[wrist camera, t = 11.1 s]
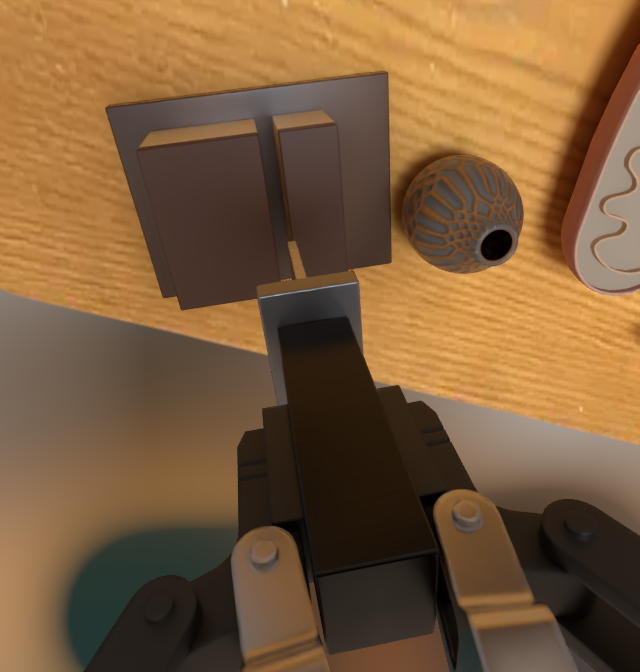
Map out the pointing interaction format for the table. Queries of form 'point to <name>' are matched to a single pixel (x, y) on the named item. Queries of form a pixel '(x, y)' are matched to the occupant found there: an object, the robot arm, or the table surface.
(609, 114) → the mitochondrion model
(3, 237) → the table surface
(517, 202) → the vase
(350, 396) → the knife
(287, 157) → the cake slice
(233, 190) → the cake
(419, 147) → the table surface
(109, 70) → the table surface
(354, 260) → the cake board
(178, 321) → the table surface
